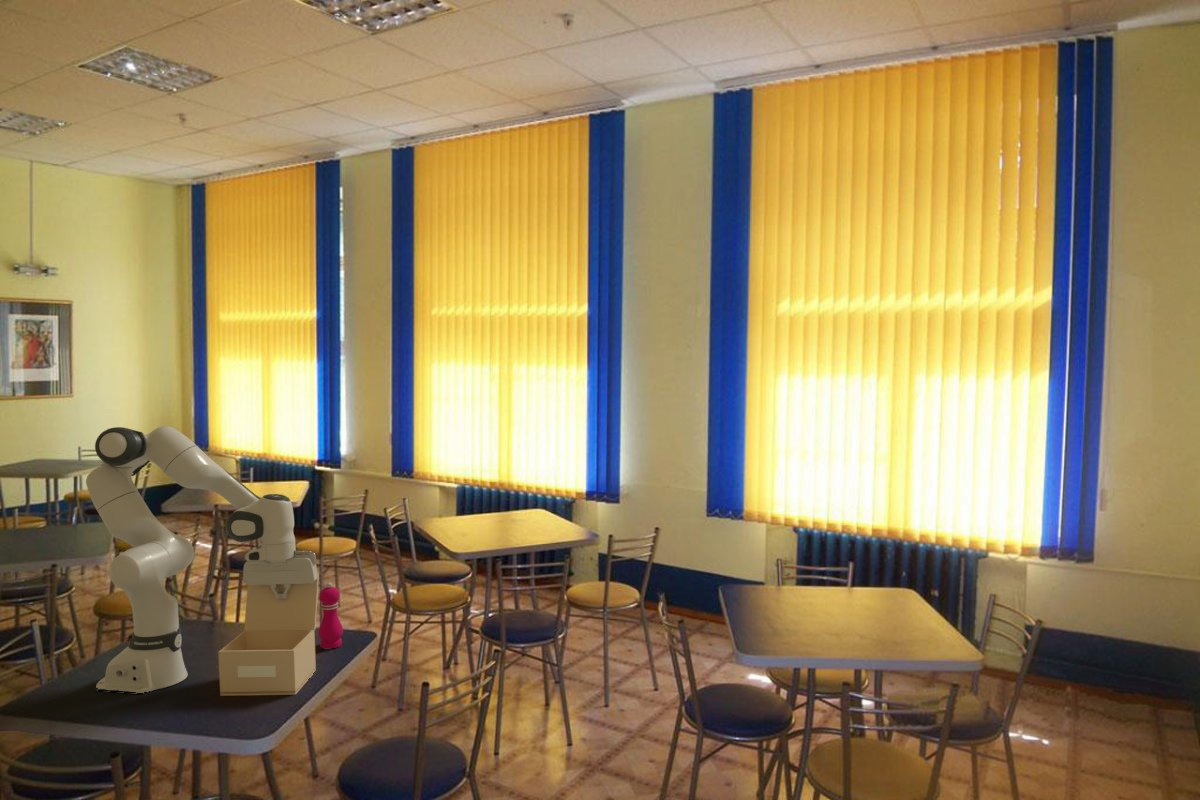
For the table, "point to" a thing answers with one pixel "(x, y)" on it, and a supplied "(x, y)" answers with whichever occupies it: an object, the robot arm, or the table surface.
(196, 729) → the table surface
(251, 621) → the carton lid
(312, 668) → the carton
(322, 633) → the pepper mill
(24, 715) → the table surface
